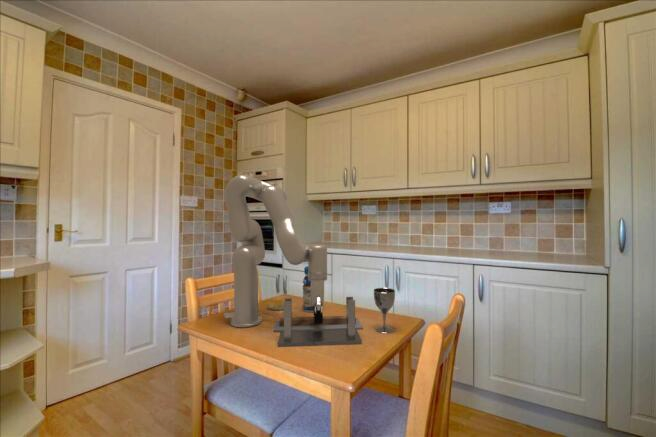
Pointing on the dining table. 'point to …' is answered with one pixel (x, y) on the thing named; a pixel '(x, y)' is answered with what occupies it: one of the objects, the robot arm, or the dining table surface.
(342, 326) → the grey mat
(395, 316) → the dining table surface
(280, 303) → the bread roll
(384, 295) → the wine glass
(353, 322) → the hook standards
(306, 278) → the beverage bottle
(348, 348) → the dining table surface
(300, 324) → the walnut rail
